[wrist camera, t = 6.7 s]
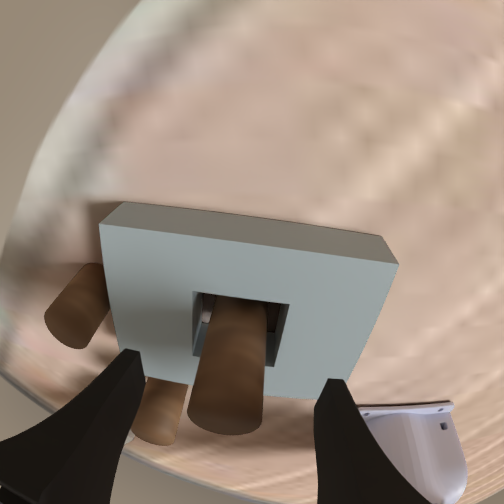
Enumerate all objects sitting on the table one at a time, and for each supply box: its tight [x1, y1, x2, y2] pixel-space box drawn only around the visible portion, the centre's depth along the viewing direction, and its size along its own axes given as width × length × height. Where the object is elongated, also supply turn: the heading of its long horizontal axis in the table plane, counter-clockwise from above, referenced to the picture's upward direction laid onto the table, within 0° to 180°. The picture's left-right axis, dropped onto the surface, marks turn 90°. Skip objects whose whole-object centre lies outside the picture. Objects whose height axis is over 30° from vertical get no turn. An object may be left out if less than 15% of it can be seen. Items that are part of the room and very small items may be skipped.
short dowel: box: [44, 263, 111, 349], centre depth 14 cm, size 3×3×4 cm
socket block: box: [99, 202, 399, 400], centre depth 15 cm, size 12×9×2 cm
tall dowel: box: [187, 295, 268, 435], centre depth 13 cm, size 3×3×7 cm
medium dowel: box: [131, 377, 188, 446], centre depth 17 cm, size 3×3×5 cm
